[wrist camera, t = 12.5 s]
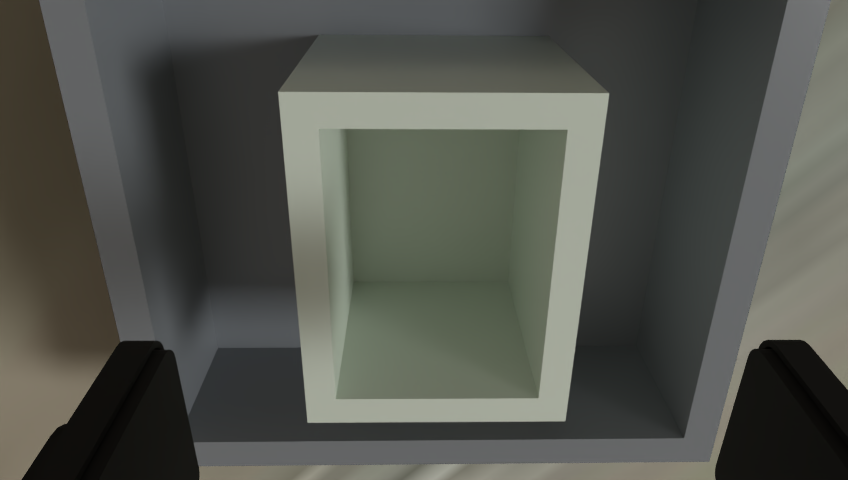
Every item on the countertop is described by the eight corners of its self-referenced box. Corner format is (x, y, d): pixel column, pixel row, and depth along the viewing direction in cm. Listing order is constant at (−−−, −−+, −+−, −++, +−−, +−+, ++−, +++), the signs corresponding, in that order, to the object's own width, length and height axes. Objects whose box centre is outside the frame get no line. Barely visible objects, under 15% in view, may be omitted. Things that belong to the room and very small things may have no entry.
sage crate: (319, 34, 20) (278, 91, 14) (548, 36, 20) (609, 93, 14) (334, 289, 24) (307, 422, 18) (525, 289, 24) (565, 421, 18)
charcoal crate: (124, -94, 20) (16, -95, 14) (734, -90, 20) (854, -89, 14) (202, 353, 27) (149, 466, 21) (649, 351, 27) (709, 461, 22)
